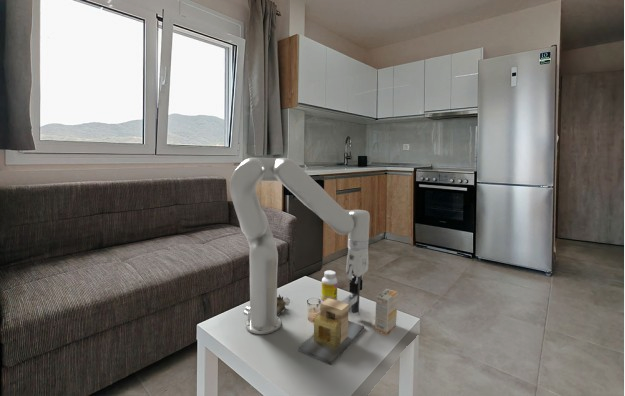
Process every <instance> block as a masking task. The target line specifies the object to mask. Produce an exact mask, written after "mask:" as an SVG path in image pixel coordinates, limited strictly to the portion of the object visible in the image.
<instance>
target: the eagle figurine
mask: <svg viewBox="0 0 625 396" xmlns="http://www.w3.org/2000/svg"><path fill="white" fill-rule="evenodd" d="M290 303H291V299H290V298H289V297H287V296H286V297H285V298H284V296H281V294H278V296H277V316H278V317H279V315H280V314H282V312H284V311H285V309H286V306H289V305H290Z"/></svg>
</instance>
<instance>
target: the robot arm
mask: <svg viewBox="0 0 625 396" xmlns="http://www.w3.org/2000/svg"><path fill="white" fill-rule="evenodd" d="M259 182H280V183H281V185H283V186H284V187H285V188H286V189H287V190H288V191H289V192H290V193H291V194H293V195H294V196H295V198H297V199H298V200H299V201H300V202H301V203H302V204H303V205H304V206H306V207H307V208H308V209H309V210H311V211H312V212H313V213H314V214H316V216H318V217H319V218H320V220H322V221H324V223H326V224H327V225H328V226H329V227H330V228H331V229H332V230H333V231H334V232H335V233H336V234H338V235H341V236H342V235H343V236H345V235H347V248H348V251H347V256H346V257H347V258H346V270H345V271H346V275H347V277H346V279H347V280H348V282H349V293H350V294H351V293H355V294H357V293H358V283H357V281H358V277H360V276H361V278H360V291H362V290H363V283H364V282H363V279H364V274H366V272H368V270H369V240H370V237H369V235H370V220H371V217H370V215H371V214H370V212H369V211H368V210H364V209H351V210H350V209H344V208H343V207H342V206H341V205H340V204H339V203H338V202H337V201H336V200H334V198H333V197H331V196H330V194H329V193H328V192H327V191H326V190H325V189H324V188H323V187H322V186H321V185H320V184H319V183H317V182H316V180H315V179H313V178H312V177H311V176H310V175H309V174H308V173H307V172H306V171H305V170H304V169H303V168H302V167H301V166H300V164H298V163H296V162H295V161H294V160H293V159H292V158H287V157H249V158H246V159H244V160H242V162H241V163H240V164H239V165H238V166H237V167H236V168H235V170H234V171H233V173H232V175H231V177H230V180H229V193H230V197H231V200H232V203H233V207H234V210H235V214H236V216H237V220H238V222H239V227H240V229H241V232H242V234H244V236H245V237H246V240H247V243H248V246H249V306H246V307H245V310H244V311H243V315H244V316H247V319H246V321H245V328H246V330H247V331H249V332H250V333H252V334H255V335H256V334H257V335H267V334H271V333H274V332H275V331H278V330H279V329H280V327H281V326H282V320H281V318H280V317H279V315H278V316H277V297H278V264H279V263H278V262H279V254H278V253H279V252H278V248H277V244H276V240H275V237H274V234H273V231H272V229H271V226H270V223H269V220H268V217H267V214H266V213H265V211H264V210H263V209H262V206H261V202H260V200H259V197H258V194H257V185H258V183H259ZM352 276H353V277H355V278H353V277H352Z"/></svg>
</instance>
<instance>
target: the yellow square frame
mask: <svg viewBox="0 0 625 396" xmlns="http://www.w3.org/2000/svg"><path fill="white" fill-rule="evenodd" d="M323 327H325V328H328V329H331V335H330V336H328V335H326V334H323ZM313 335H314V341H315V342H317V343H320V344H322V345H325V346H327V347H330V348H332V349H336V348H337V347H338V346H339V345H340V321H337V320H334V319H331V318H328V317H325V316H322V315H320V314H318V315H317V316H315V317H314V318H313Z"/></svg>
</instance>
